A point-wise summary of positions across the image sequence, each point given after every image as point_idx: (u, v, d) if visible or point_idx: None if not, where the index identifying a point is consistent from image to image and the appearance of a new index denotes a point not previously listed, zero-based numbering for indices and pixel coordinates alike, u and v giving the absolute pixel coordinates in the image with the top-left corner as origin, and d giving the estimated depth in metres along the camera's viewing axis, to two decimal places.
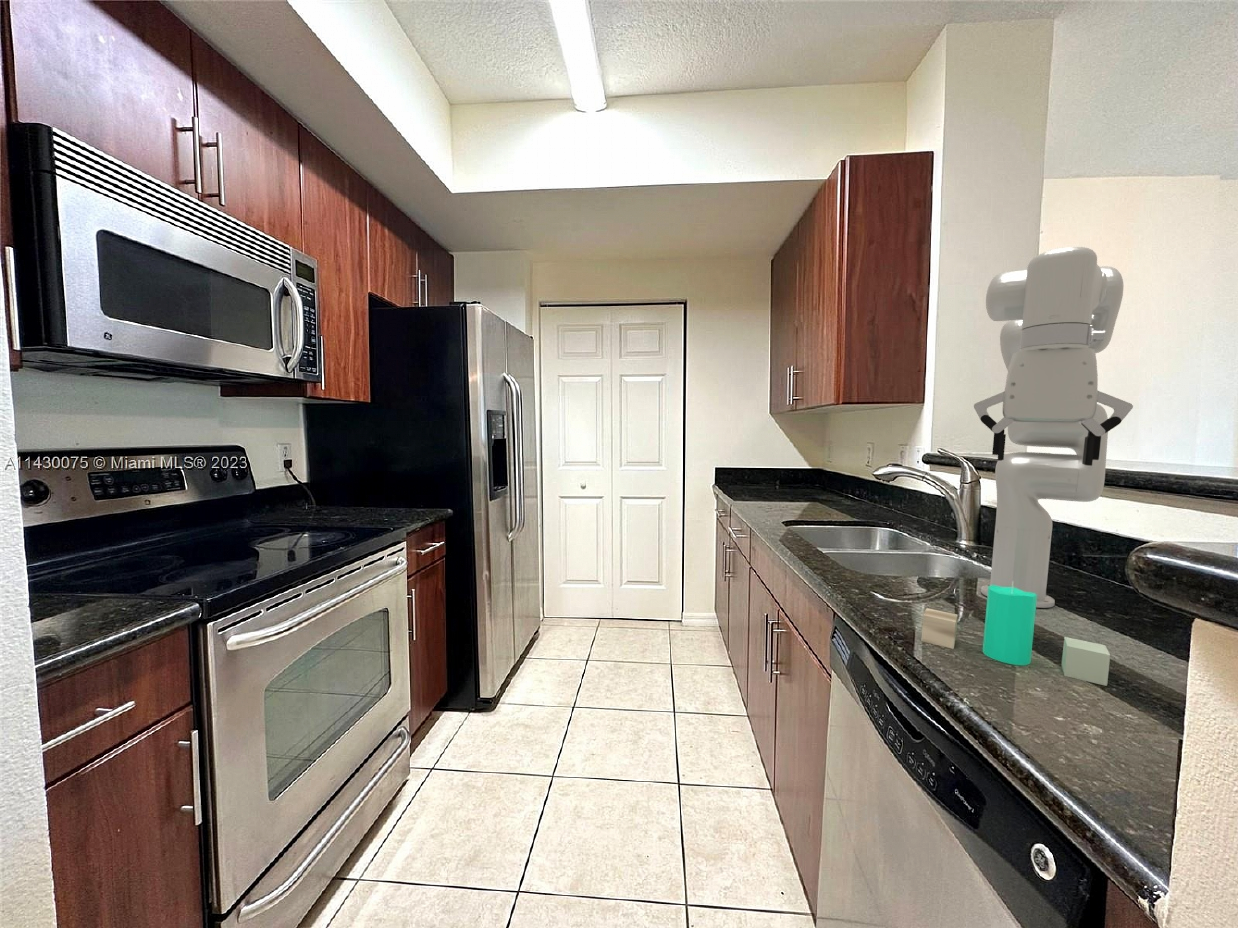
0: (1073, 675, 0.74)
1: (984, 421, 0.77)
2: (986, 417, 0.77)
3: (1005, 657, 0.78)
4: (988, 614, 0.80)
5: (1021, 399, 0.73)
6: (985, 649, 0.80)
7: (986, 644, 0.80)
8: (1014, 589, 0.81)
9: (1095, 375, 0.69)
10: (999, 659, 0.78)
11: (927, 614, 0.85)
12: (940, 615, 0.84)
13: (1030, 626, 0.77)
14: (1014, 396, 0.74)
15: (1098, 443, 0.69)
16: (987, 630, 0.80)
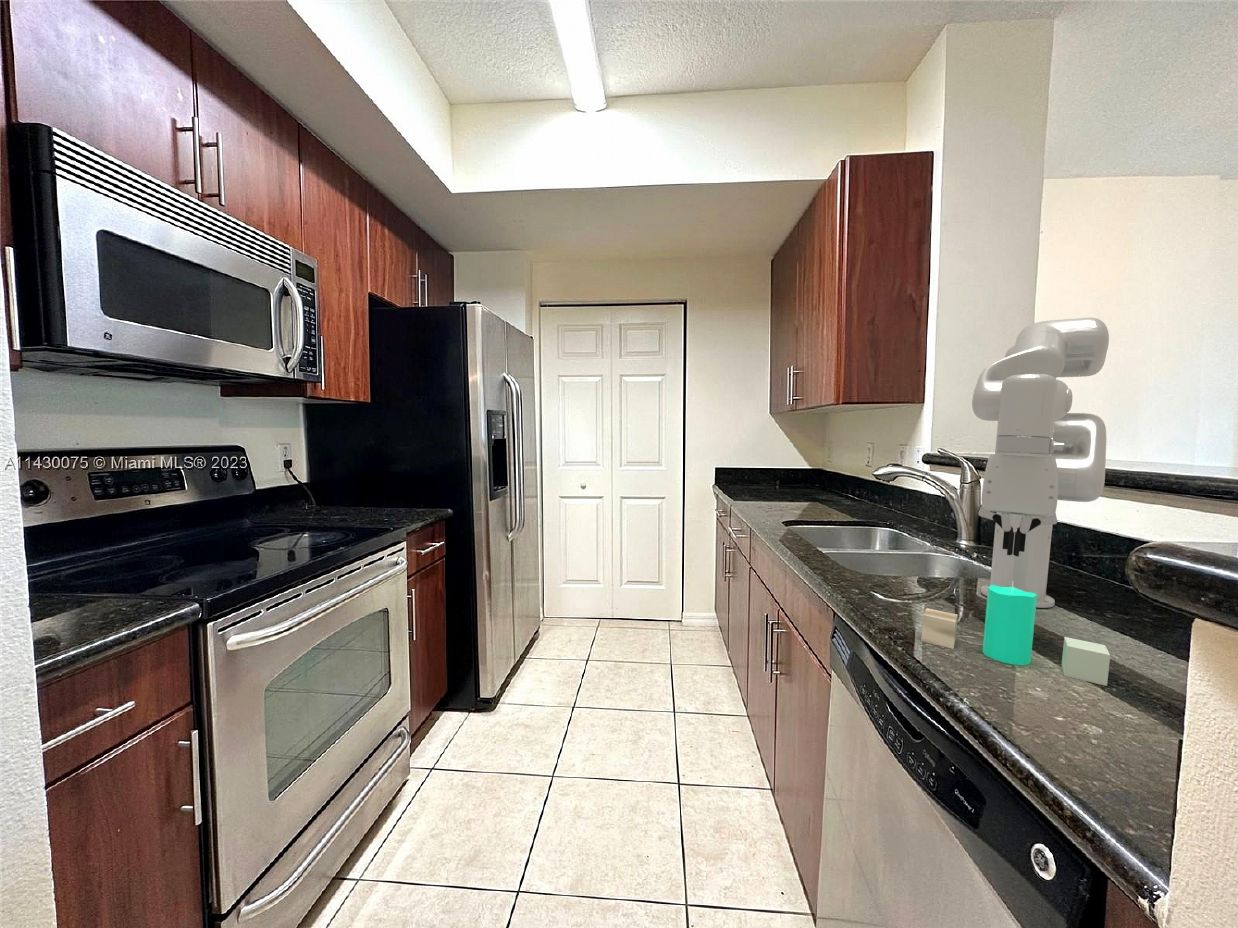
0: (1073, 675, 0.74)
1: (995, 520, 0.89)
2: (997, 516, 0.89)
3: (1005, 657, 0.78)
4: (988, 614, 0.80)
5: (996, 495, 0.88)
6: (985, 649, 0.80)
7: (986, 644, 0.80)
8: (1014, 589, 0.81)
9: (1055, 480, 0.83)
10: (999, 659, 0.78)
11: (927, 614, 0.85)
12: (940, 615, 0.85)
13: (1030, 626, 0.77)
14: (990, 491, 0.88)
15: (1024, 539, 0.87)
16: (987, 630, 0.80)
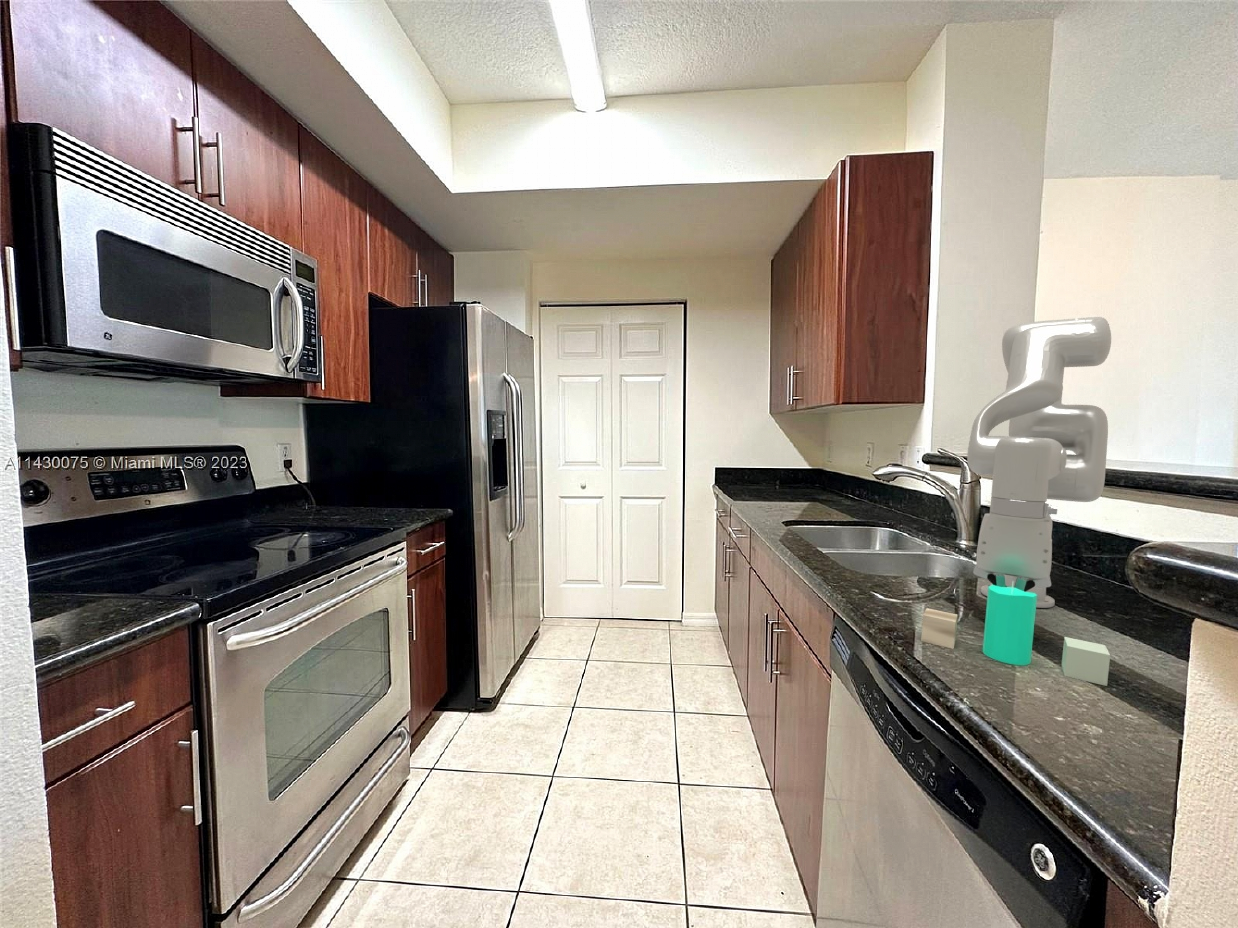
0: (1073, 675, 0.74)
1: (990, 579, 0.90)
2: (992, 576, 0.89)
3: (1005, 657, 0.78)
4: (988, 614, 0.80)
5: (990, 556, 0.88)
6: (985, 649, 0.80)
7: (986, 644, 0.80)
8: (1014, 589, 0.81)
9: (1049, 544, 0.84)
10: (999, 659, 0.78)
11: (927, 614, 0.85)
12: (940, 615, 0.85)
13: (1030, 626, 0.77)
14: (985, 552, 0.89)
15: None
16: (987, 630, 0.80)
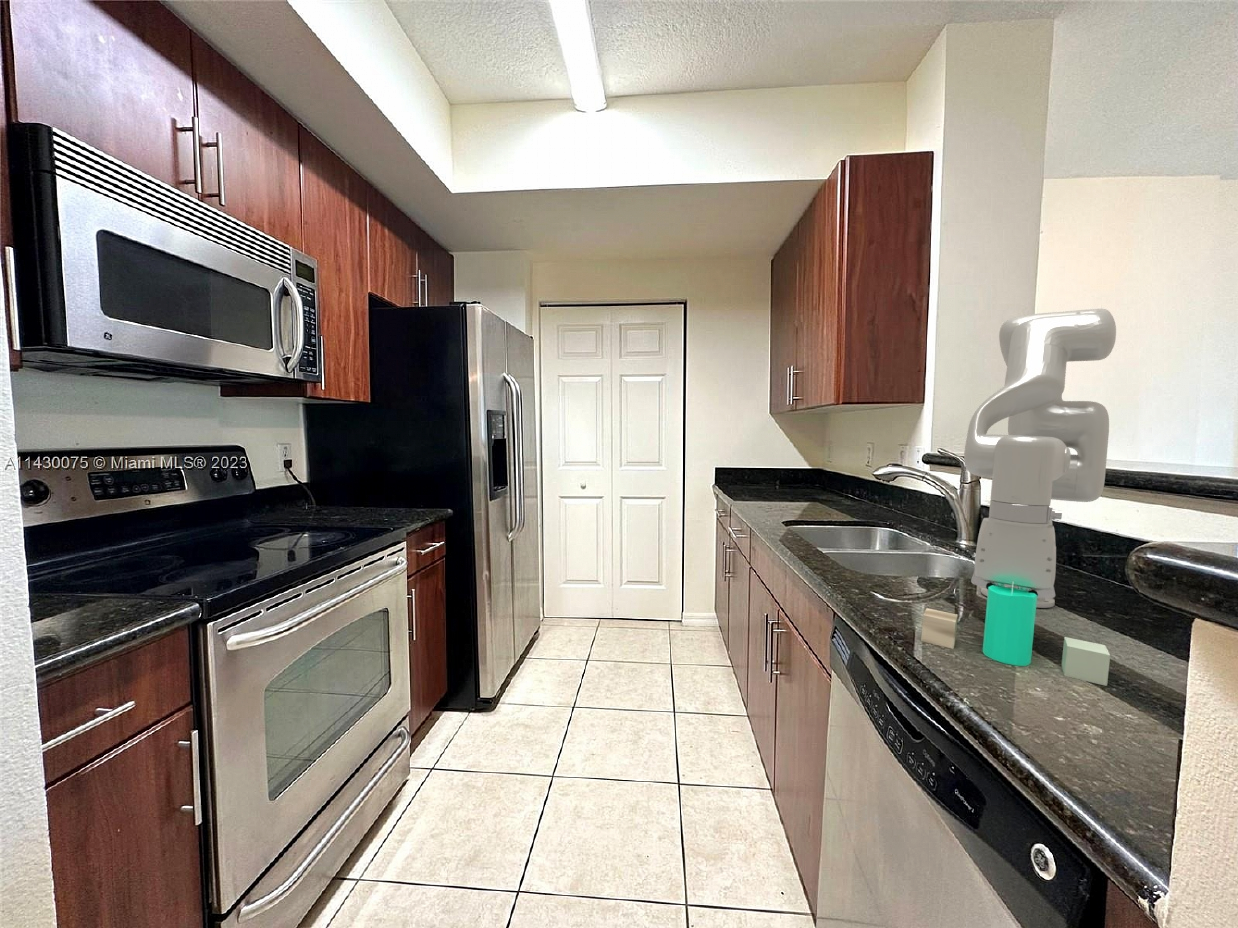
0: (1073, 675, 0.74)
1: None
2: None
3: (1005, 657, 0.77)
4: (988, 615, 0.80)
5: (990, 564, 0.82)
6: (985, 649, 0.80)
7: (986, 644, 0.80)
8: (1014, 589, 0.81)
9: (1053, 552, 0.78)
10: (999, 659, 0.78)
11: (927, 614, 0.85)
12: (940, 615, 0.84)
13: (1031, 626, 0.77)
14: (983, 560, 0.83)
15: None
16: (987, 630, 0.80)
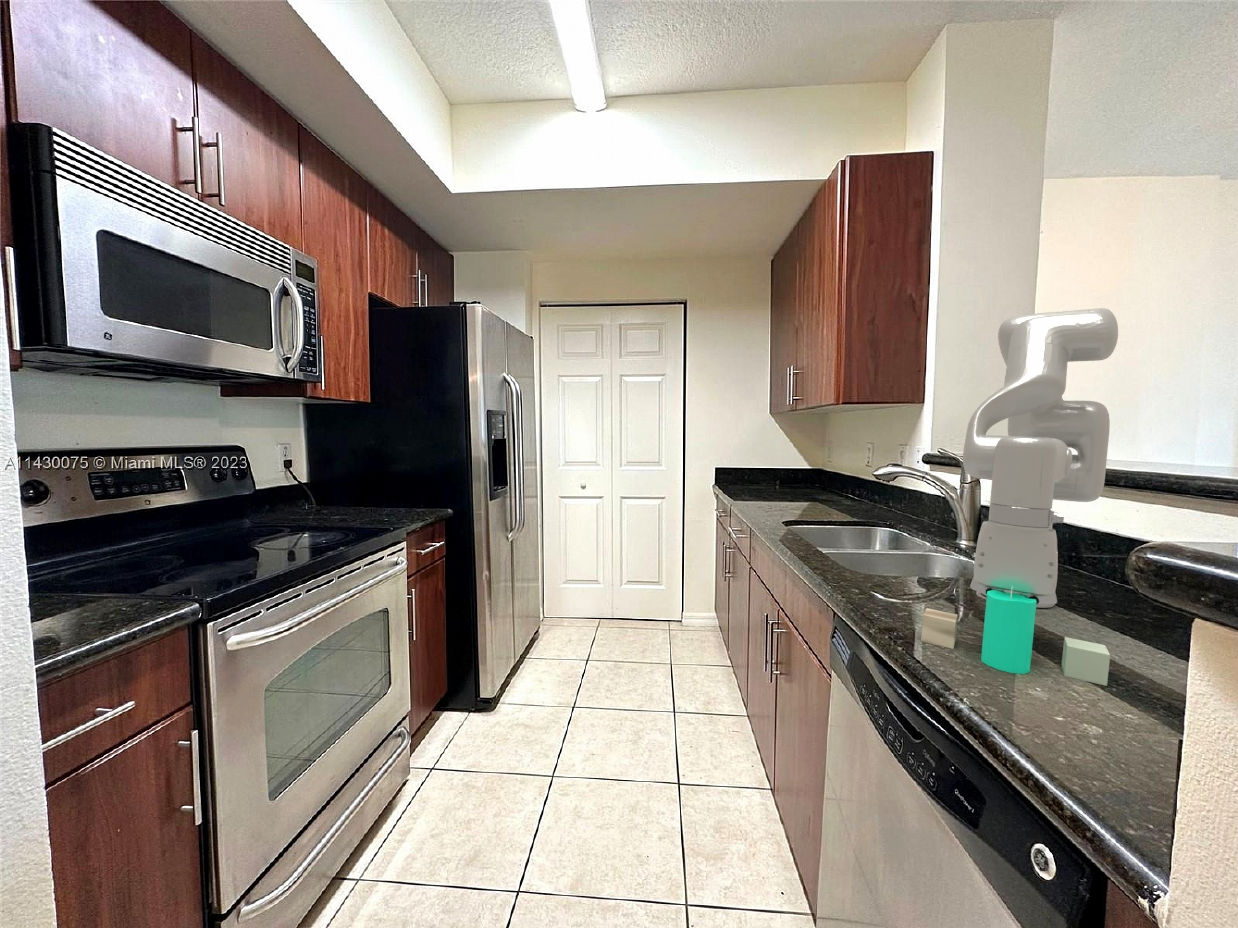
0: (1073, 675, 0.74)
1: None
2: None
3: (1000, 664, 0.75)
4: (985, 619, 0.78)
5: (989, 569, 0.80)
6: (982, 655, 0.78)
7: (983, 650, 0.78)
8: (1016, 595, 0.78)
9: (1055, 556, 0.75)
10: (994, 666, 0.76)
11: (927, 614, 0.85)
12: (940, 615, 0.85)
13: (1028, 633, 0.74)
14: (983, 565, 0.80)
15: None
16: (984, 636, 0.78)
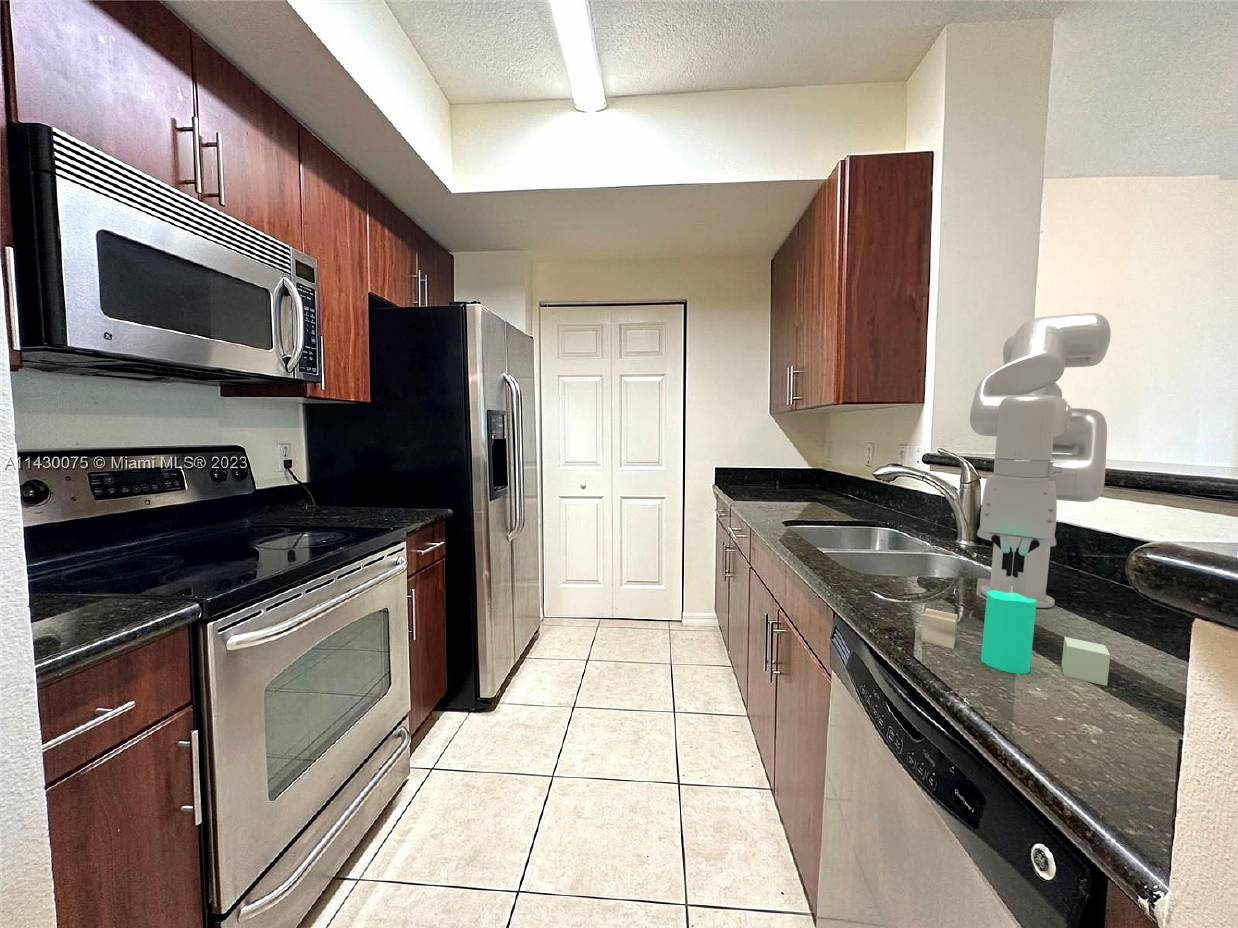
0: (1073, 675, 0.74)
1: (994, 541, 0.89)
2: (996, 538, 0.89)
3: (1000, 664, 0.75)
4: (985, 619, 0.78)
5: (994, 517, 0.87)
6: (982, 655, 0.78)
7: (983, 650, 0.78)
8: (1016, 595, 0.78)
9: (1054, 503, 0.83)
10: (994, 666, 0.76)
11: (927, 614, 0.85)
12: (940, 615, 0.85)
13: (1028, 633, 0.74)
14: (989, 514, 0.88)
15: (1022, 560, 0.87)
16: (984, 636, 0.78)
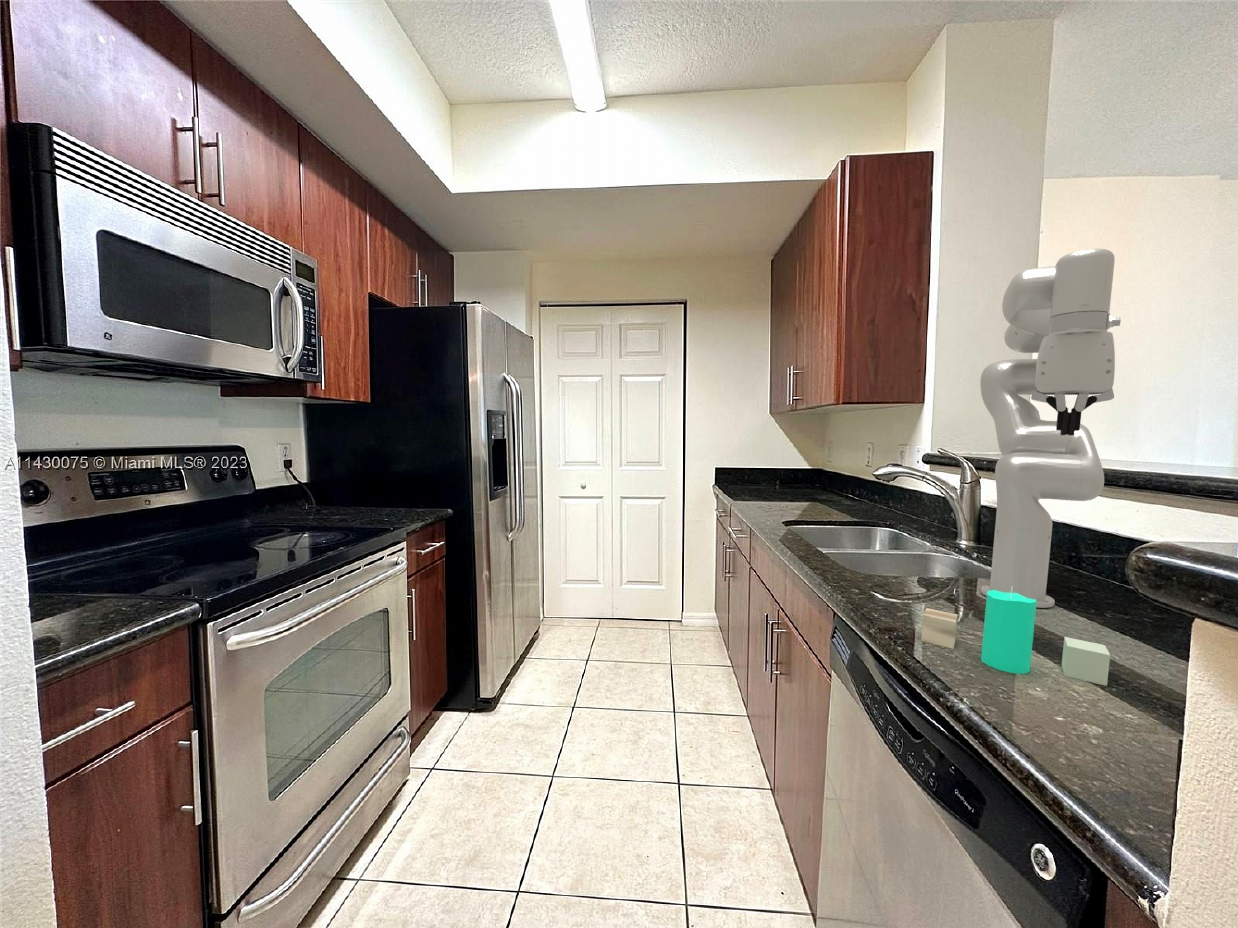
0: (1073, 675, 0.74)
1: (1049, 401, 0.89)
2: (1051, 398, 0.89)
3: (1000, 664, 0.75)
4: (985, 619, 0.78)
5: (1050, 375, 0.88)
6: (982, 655, 0.78)
7: (983, 650, 0.78)
8: (1016, 595, 0.78)
9: (1113, 354, 0.84)
10: (994, 666, 0.76)
11: (927, 614, 0.85)
12: (940, 615, 0.85)
13: (1028, 633, 0.74)
14: (1044, 373, 0.89)
15: (1079, 417, 0.87)
16: (984, 636, 0.78)
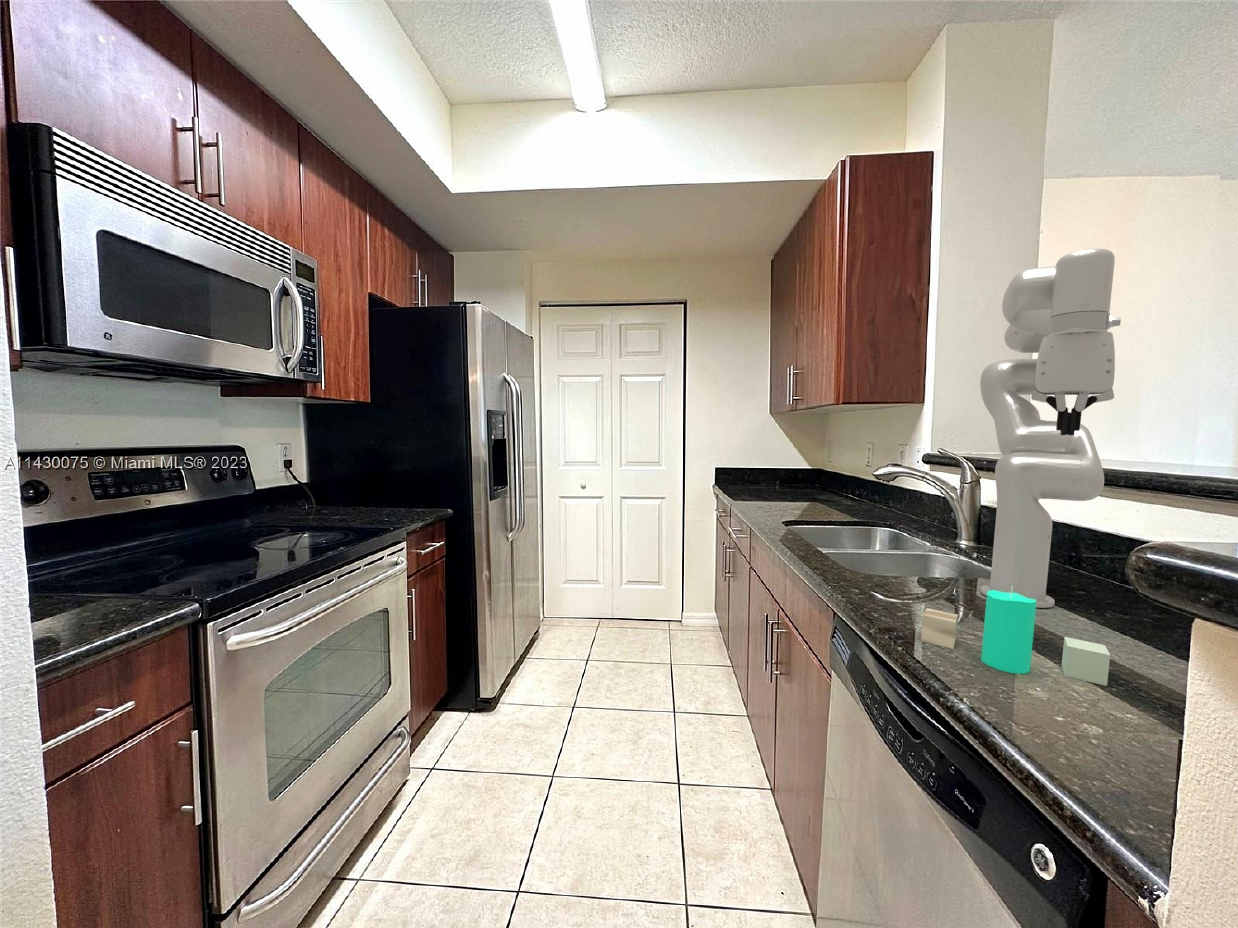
0: (1073, 675, 0.74)
1: (1049, 401, 0.89)
2: (1051, 398, 0.89)
3: (1000, 664, 0.75)
4: (985, 619, 0.78)
5: (1050, 375, 0.88)
6: (982, 655, 0.78)
7: (983, 650, 0.78)
8: (1016, 595, 0.78)
9: (1113, 354, 0.84)
10: (994, 666, 0.76)
11: (927, 614, 0.85)
12: (940, 615, 0.84)
13: (1028, 633, 0.74)
14: (1044, 373, 0.89)
15: (1079, 417, 0.87)
16: (984, 636, 0.78)
